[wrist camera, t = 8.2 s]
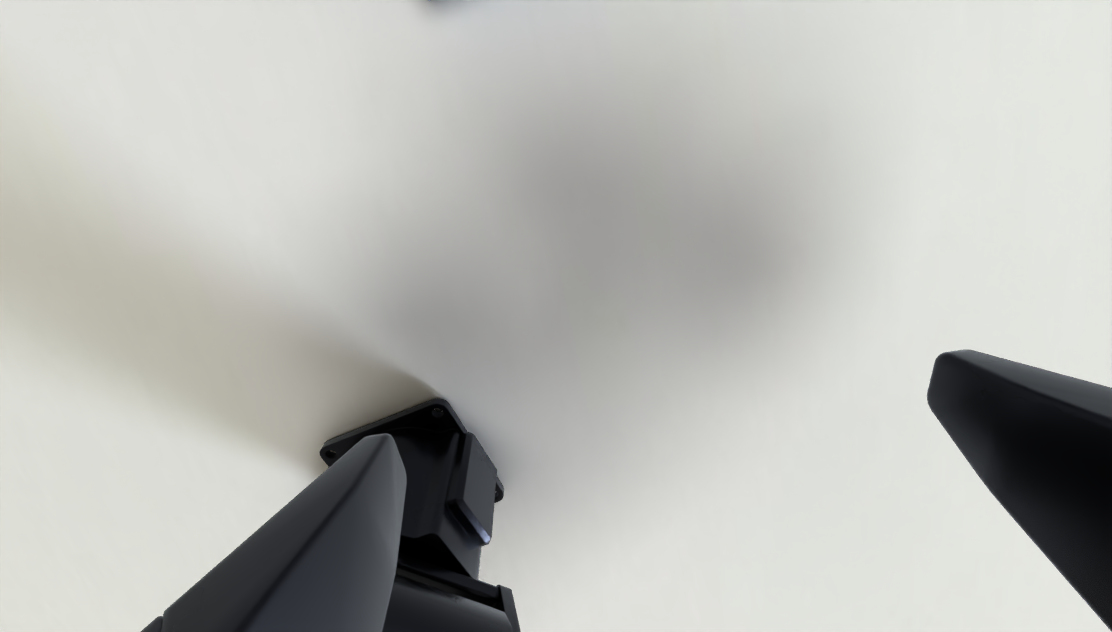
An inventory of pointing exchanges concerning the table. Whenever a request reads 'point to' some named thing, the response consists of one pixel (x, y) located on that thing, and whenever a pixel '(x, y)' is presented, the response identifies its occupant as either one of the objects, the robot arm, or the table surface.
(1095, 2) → the table surface
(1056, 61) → the table surface
